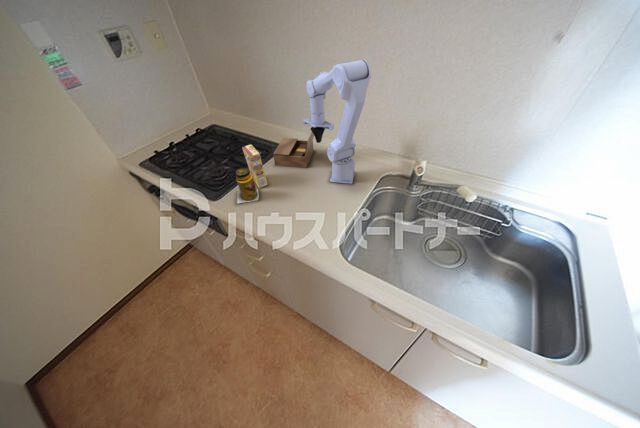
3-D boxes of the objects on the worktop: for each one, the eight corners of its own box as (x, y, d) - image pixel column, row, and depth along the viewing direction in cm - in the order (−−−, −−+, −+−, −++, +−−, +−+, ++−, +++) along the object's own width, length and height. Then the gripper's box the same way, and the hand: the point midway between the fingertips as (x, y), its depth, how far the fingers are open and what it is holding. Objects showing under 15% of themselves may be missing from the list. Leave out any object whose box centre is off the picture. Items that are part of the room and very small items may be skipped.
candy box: (268, 184, 100) (260, 152, 90) (259, 188, 99) (249, 156, 88) (260, 175, 106) (251, 143, 95) (251, 178, 104) (241, 146, 93)
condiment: (259, 200, 94) (251, 175, 85) (237, 204, 93) (227, 179, 84) (258, 189, 99) (251, 164, 90) (237, 192, 98) (228, 168, 89)
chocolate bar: (309, 152, 117) (309, 144, 114) (302, 164, 110) (301, 156, 107) (301, 151, 118) (300, 143, 115) (293, 163, 111) (292, 155, 108)
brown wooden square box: (313, 151, 119) (312, 139, 114) (306, 168, 108) (305, 156, 104) (285, 149, 121) (283, 137, 117) (275, 165, 111) (272, 153, 107)
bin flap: (312, 139, 114) (313, 139, 114) (304, 156, 104) (305, 156, 104) (315, 125, 109) (315, 125, 109) (307, 141, 99) (307, 141, 99)
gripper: (297, 112, 99) (300, 142, 108) (327, 118, 93) (328, 149, 103) (307, 106, 103) (309, 135, 112) (336, 111, 97) (336, 142, 107)
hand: (319, 141), depth 108 cm, fingers closed
